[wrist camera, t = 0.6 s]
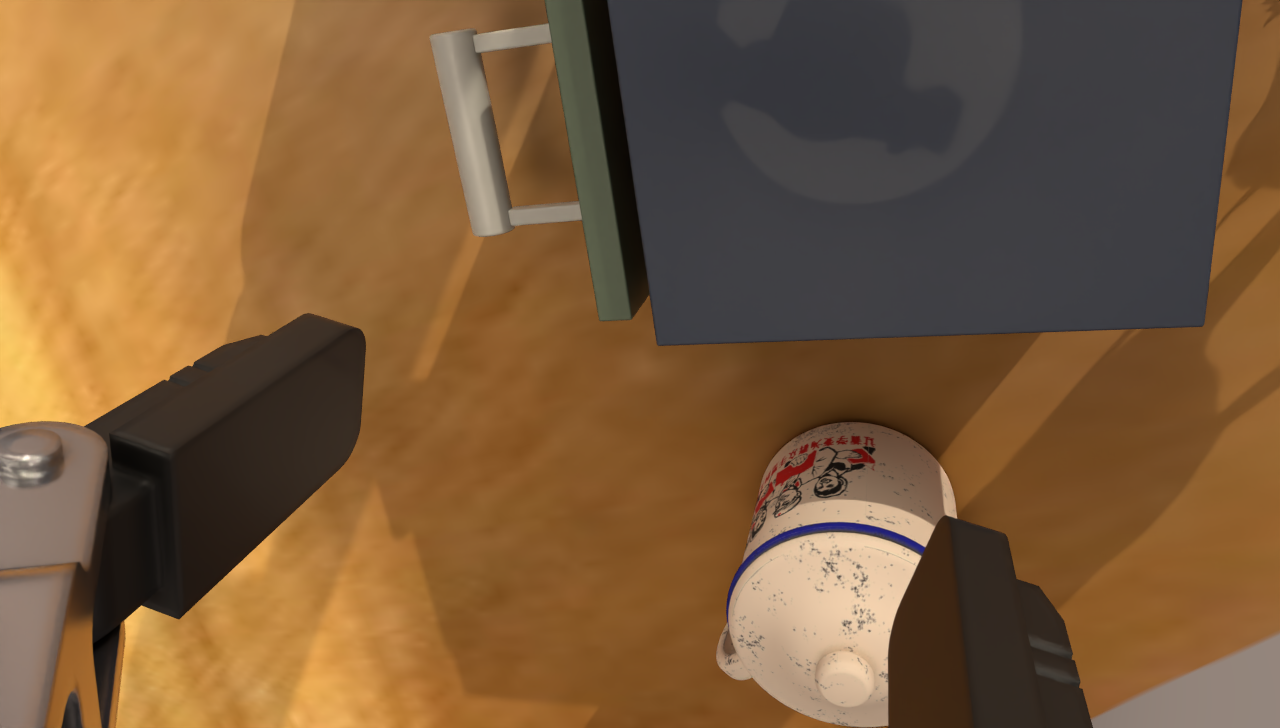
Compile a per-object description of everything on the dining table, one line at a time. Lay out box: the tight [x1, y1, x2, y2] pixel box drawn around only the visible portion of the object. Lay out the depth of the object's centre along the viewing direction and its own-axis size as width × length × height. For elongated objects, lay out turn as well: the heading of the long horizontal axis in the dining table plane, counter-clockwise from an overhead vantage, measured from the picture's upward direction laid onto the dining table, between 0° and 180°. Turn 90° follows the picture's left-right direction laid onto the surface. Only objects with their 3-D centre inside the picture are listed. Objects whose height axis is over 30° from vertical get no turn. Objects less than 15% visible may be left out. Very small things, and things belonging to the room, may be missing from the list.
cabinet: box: [607, 0, 1242, 346], centre depth 28 cm, size 16×14×9 cm
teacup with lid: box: [716, 422, 957, 727], centre depth 35 cm, size 12×9×12 cm
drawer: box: [430, 0, 650, 321], centre depth 29 cm, size 20×13×7 cm, turn 99°
